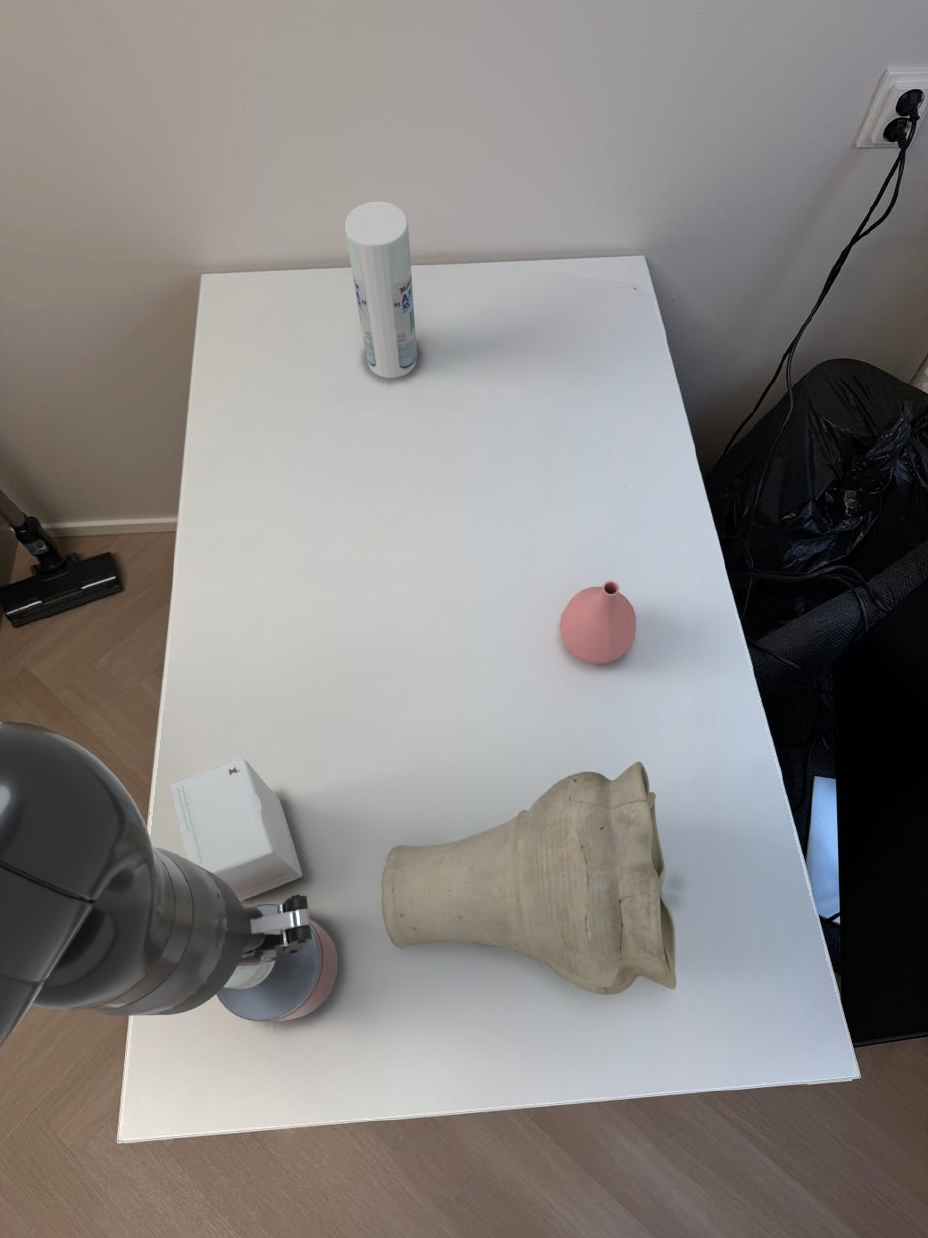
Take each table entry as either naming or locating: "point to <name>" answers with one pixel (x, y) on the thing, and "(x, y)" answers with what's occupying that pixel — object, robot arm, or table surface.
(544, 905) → the vase
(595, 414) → the table surface
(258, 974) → the pill bottle
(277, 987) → the tin can
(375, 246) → the spray can
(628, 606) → the pink bud vase
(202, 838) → the cosmetic box
